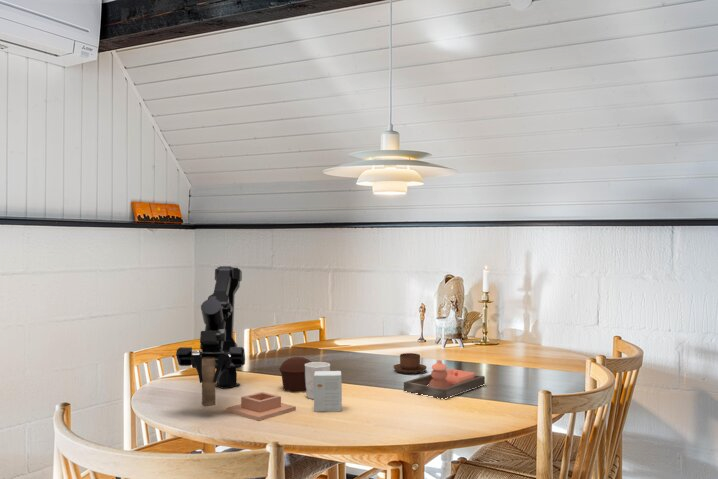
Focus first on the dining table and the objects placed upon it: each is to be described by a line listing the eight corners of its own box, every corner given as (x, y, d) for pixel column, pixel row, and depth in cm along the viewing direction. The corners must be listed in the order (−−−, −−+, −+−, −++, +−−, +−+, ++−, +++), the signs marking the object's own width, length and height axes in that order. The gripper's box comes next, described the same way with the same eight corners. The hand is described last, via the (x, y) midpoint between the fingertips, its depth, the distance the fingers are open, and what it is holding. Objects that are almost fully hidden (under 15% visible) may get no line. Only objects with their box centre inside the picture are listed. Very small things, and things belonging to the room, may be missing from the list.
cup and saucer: (387, 370, 245) (387, 353, 245) (416, 367, 250) (416, 351, 250) (403, 376, 234) (403, 359, 234) (432, 373, 239) (432, 356, 239)
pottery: (451, 380, 228) (451, 352, 228) (475, 385, 222) (475, 356, 222) (420, 390, 214) (421, 360, 214) (445, 395, 208) (445, 364, 208)
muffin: (281, 393, 209) (281, 362, 209) (276, 385, 220) (276, 355, 219) (318, 391, 212) (318, 360, 212) (311, 383, 223) (311, 353, 223)
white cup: (316, 392, 211) (316, 360, 211) (335, 396, 206) (335, 364, 206) (299, 396, 205) (299, 364, 205) (318, 401, 200) (318, 368, 200)
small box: (341, 406, 195) (341, 370, 195) (341, 411, 189) (341, 374, 189) (314, 406, 195) (314, 370, 194) (313, 411, 189) (313, 374, 189)
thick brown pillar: (199, 404, 184) (199, 358, 184) (210, 402, 187) (210, 356, 186) (207, 407, 182) (207, 360, 181) (217, 404, 184) (217, 358, 184)
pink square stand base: (226, 411, 189) (226, 397, 189) (263, 401, 200) (263, 388, 199) (258, 420, 180) (258, 406, 180) (295, 410, 190) (295, 396, 190)
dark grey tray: (403, 391, 212) (403, 382, 212) (445, 378, 231) (445, 369, 231) (444, 399, 202) (444, 390, 202) (484, 385, 221) (484, 376, 221)
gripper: (177, 319, 187) (168, 366, 176) (244, 318, 188) (239, 365, 177) (183, 341, 195) (175, 388, 184) (247, 341, 196) (242, 387, 186)
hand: (207, 382), depth 183 cm, fingers closed on thick brown pillar, 4 cm apart
